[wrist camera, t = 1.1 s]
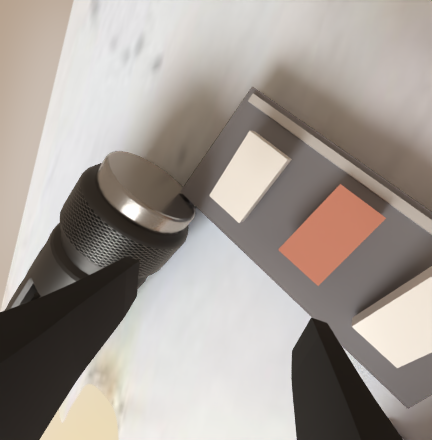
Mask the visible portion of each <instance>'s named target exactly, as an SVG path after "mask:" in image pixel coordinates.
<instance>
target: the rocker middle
mask: <svg viewBox="0 0 432 440" xmlns="http://www.w3.org/2000/svg"><path fill="white" fill-rule="evenodd" d="M385 219H386V218H385V217H384V216H383V215H381V214H380V213H379V212H377V211H376V210H375V209H373V208H372V207H371V206H369V205H368V204H367V203H365V202H364V201H362V200H361V199H360V198H358V197H357V196H356V195H354V194H353V193H352V192H350V191H349V190H348V189H346V188H345V187H344V186H342V185H341V184H340V185H339V186H338V187H337V188H336V189H335V190H334V191H333V192H332V193H331V194H330V195H329V196H328V197H327V198H326V200H325V201H324V202H323V203H322V204H321V205H320V206H319V207H318V208H317V209H316V210H315V211H314V212H313V213H312V214H311V215H310V216H309V217H308V218H307V220H306V221H305V222H304V223H303V224H302V225H301V226H300V227H299V228H298V229H297V230H296V231H295V232H294V233H293V234H292V235H291V236H290V237H289V239H288V240H287V241H286V242H285V243H284V244H283V245H282V246H281V247H280V248H279V249H278V250H279V251H280V252H281V253H282V254H283V255H284V256H285V257H287V258H288V259H289V260H290V261H291V262H292V263H293V264H294V265H295V266H296V267H298V268H299V269H300V270H301V271H302V272H303V273H304V274H305V275H306V276H308V277H309V278H310V279H311V280H312V281H313V282H314V283H315V284H316V285H317V286H319V285H320V284H321V283H322V282H323V281H324V280H325V279H326V278H327V277H328V276H329V275H330V274H331V273H332V272H333V271H334V270H335V269H336V268H337V267H338V266H339V265H340V264H341V263H342V262H343V261H344V260H345V259H346V258H347V257H348V256H349V255H350V254H351V253H352V252H353V251H354V250H355V249H356V248H357V247H358V246H359V245H360V244H361V243H362V242H363V241H364V240H365V239H366V238H367V237H368V236H369V235H370V234H371V233H372V232H373V231H374V230H375V229H376V228H377V227H378V226H379V225H380V224H381V223H382V222H383V221H384V220H385Z"/></svg>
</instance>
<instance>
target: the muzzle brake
mask: <svg viewBox="0 0 432 440" xmlns="http://www.w3.org/2000/svg"><path fill="white" fill-rule="evenodd" d="M182 188H183V187H182V186H181V185H180V184H179V183H178V182H177V181H176V180H175V179H174V178H173V177H172V176H171V175H169V174H168V173H167V172H165V171H164V170H163V169H161V168H160V167H158V166H157V165H155V164H153V163H152V162H150V161H148V160H146V159H144V158H142V157H140V156H137V155H135V154H132V153H129V152H123V151H115V152H112V153H110V154H108V155H107V156H106V158H105V159H104V161H103V162H102V163H100V164H98V165H95V166H92V167H90V168H88V169H87V170H86V171H85V172H84V173H82V175H81V177H80V178H79V180H78V182H77V183H76V185H75V187H74V188H73V190H72V192H71V193H70V195H69V197H68V198H67V200H66V202H65V203H64V205H63V208H62V210H61V212H60V223H59V224H58V225H57V226H56V227H55V228H54V229H53V231H52V233H51V234H50V236H49V239H48V241H47V243H46V244H45V246H44V247H43V248H42V250H41V251H40V252H39V254H38V256H37V257H36V259H35V261H34V262H33V264H32V266H31V267H30V269H29V271H28V273H27V275H26V277H25V278H24V280H23V281H22V283H21V284H20V285H19V287H18V289H17V290H16V292H15V294H14V295H13V297H12V298H11V300H10V302H9V304H8V306H7V308H6V309H5V311H6V310H8V309H11V308H14V307H17V306H19V305H22V304H25V303H27V302H30V301H32V300H35V299H38V298H40V297H42V296H45V295H47V294H49V293H52V292H54V291H56V290H58V289H61V288H63V287H65V286H67V285H70V284H72V283H74V282H76V281H78V280H80V279H82V278H84V277H86V276H88V275H90V274H92V273H94V272H96V271H98V270H100V269H102V268H104V267H106V266H108V265H110V264H112V263H114V262H116V261H118V260H120V259H122V258H124V257H126V256H127V257H130V258H133V259H136V260H139V261H140V265H139V276H138V287H137V289H138V288H139V287H140V286H141V285H142V284H143V283H144V281H145V280H146V278H147V276H148V275H152V274H153V273H155V272H157V271H158V270H159V269H160V268H161V267H162V266H163V265H164V264H165V263H166V262H167V261H168V260H169V259H170V257H171V256H172V255H173V254H174V253H175V252H176V251H177V250H178V249H179V248H180V246H181V245H182V244H183V243H184V242H185V240H186V238H187V235H188V224H189V223H190V222H191V221H192V220H193V219H194V216H195V213H196V212H195V206H194V204H193V203H192V202H191V201H190V200H189V199H188V198H187V197H185V196H184V195H183V194H182V193H181V192H180V191H181V190H182Z"/></svg>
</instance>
